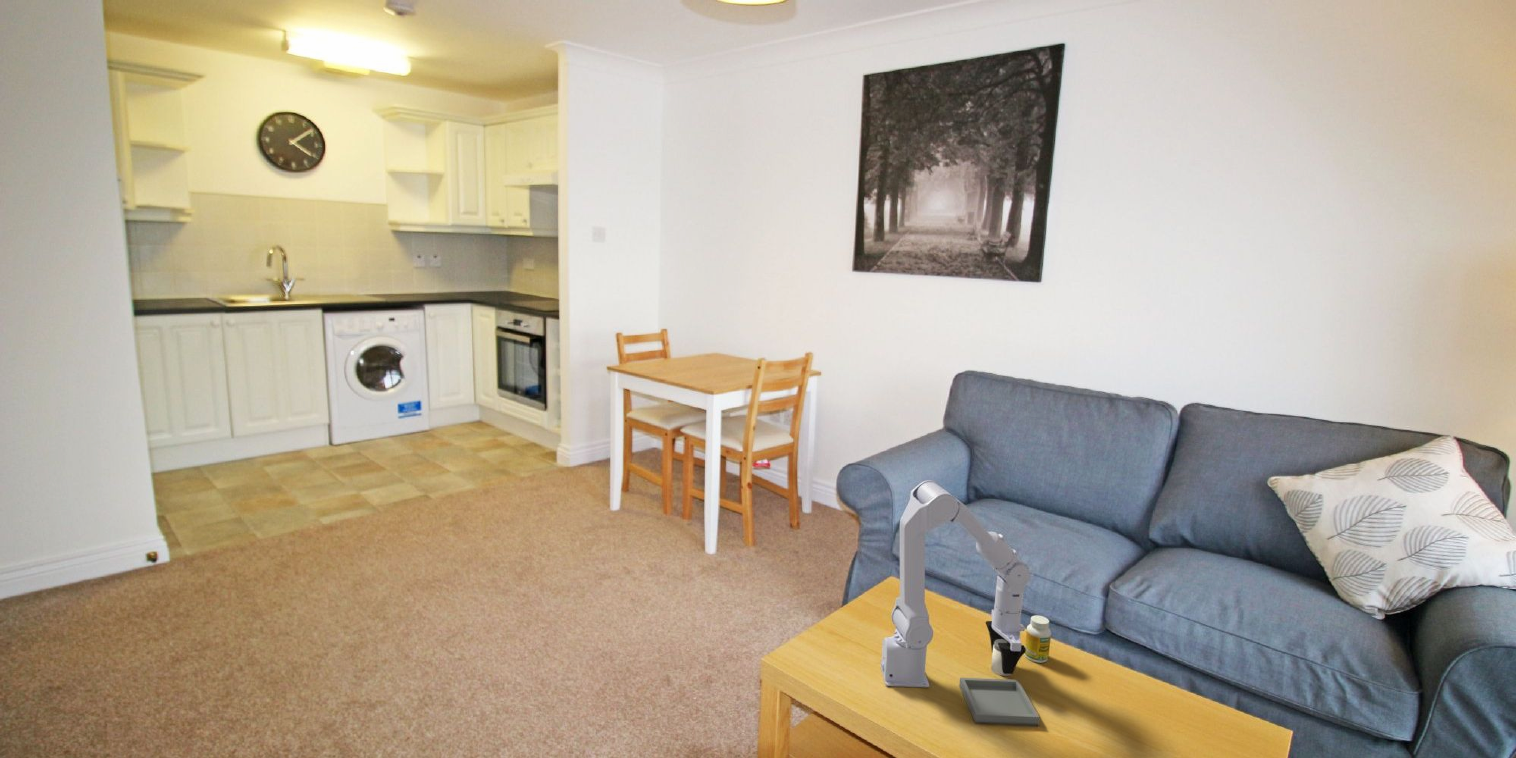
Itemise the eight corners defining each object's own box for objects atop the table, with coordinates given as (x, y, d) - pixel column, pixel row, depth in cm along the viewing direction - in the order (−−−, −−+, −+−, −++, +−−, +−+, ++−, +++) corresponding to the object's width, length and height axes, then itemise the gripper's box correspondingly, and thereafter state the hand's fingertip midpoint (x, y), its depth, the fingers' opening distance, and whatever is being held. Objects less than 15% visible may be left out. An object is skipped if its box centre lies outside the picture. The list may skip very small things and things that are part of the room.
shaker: (994, 675, 162) (997, 649, 161) (988, 664, 166) (991, 638, 165) (1014, 676, 162) (1017, 649, 161) (1008, 664, 166) (1010, 639, 165)
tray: (975, 723, 145) (976, 714, 145) (959, 685, 157) (959, 677, 157) (1038, 725, 145) (1039, 717, 145) (1017, 688, 157) (1018, 679, 157)
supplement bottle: (1033, 648, 173) (1037, 611, 172) (1053, 659, 169) (1057, 621, 167) (1019, 654, 170) (1023, 617, 169) (1038, 666, 166) (1043, 627, 164)
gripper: (1037, 624, 154) (1031, 682, 156) (1015, 592, 168) (1009, 646, 171) (1004, 623, 154) (998, 681, 156) (984, 591, 168) (979, 645, 171)
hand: (1002, 662), depth 164 cm, fingers open, 7 cm apart
